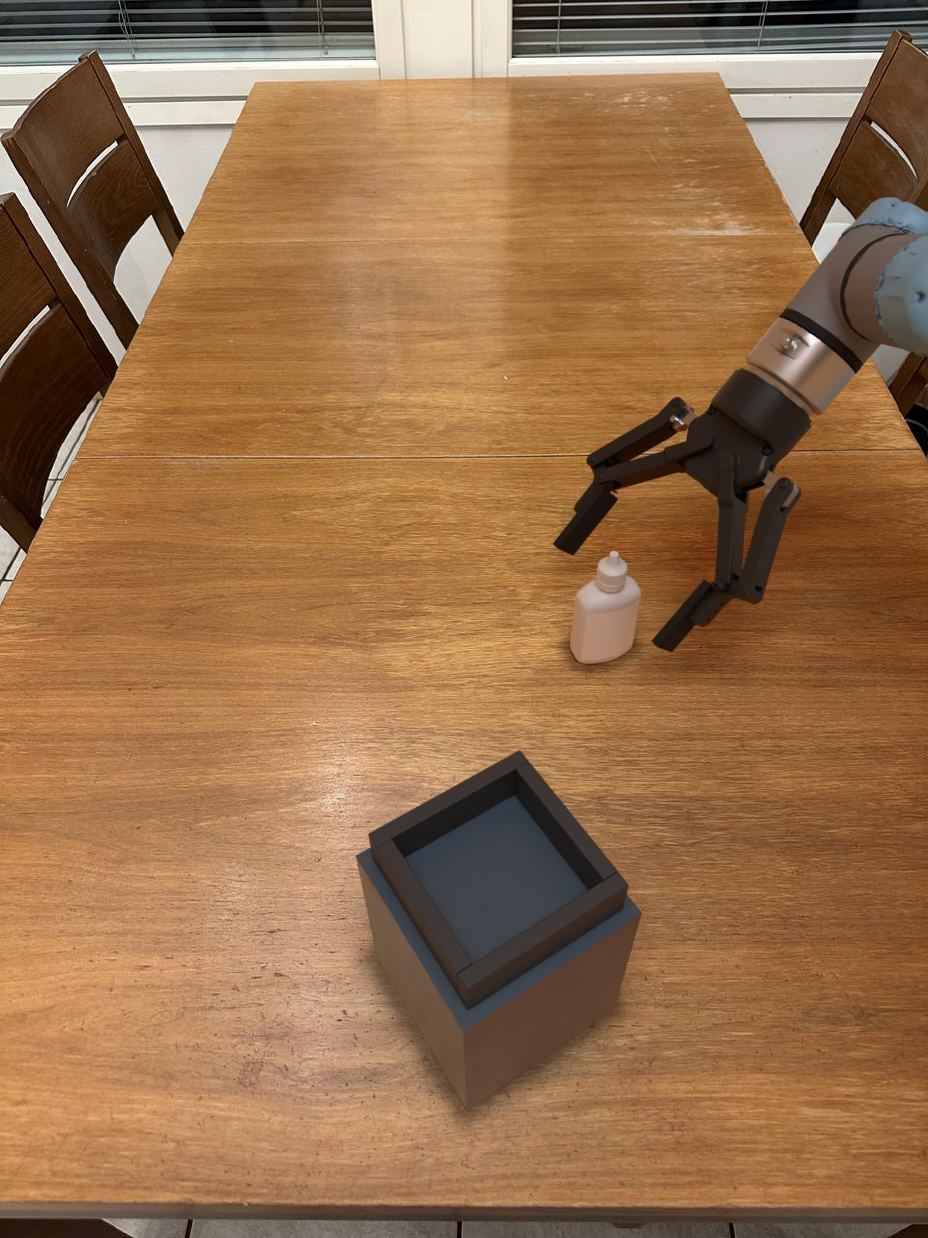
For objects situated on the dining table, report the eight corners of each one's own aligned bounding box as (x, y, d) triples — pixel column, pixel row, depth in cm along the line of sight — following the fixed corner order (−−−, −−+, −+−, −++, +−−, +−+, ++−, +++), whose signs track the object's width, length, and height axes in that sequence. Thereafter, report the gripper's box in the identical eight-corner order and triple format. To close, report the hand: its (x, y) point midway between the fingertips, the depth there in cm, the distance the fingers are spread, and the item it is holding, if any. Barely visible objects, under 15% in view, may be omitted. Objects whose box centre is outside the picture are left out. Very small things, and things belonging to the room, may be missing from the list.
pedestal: (615, 1008, 65) (649, 888, 51) (467, 1112, 60) (462, 1011, 47) (515, 872, 71) (522, 735, 58) (376, 956, 67) (349, 830, 54)
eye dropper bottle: (630, 670, 84) (648, 576, 75) (567, 663, 85) (577, 569, 76) (633, 634, 87) (650, 539, 78) (572, 627, 88) (582, 532, 79)
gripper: (655, 302, 79) (503, 503, 85) (889, 460, 65) (688, 687, 71) (693, 339, 85) (548, 524, 91) (915, 491, 71) (727, 699, 77)
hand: (609, 596), depth 81 cm, fingers open, 13 cm apart
